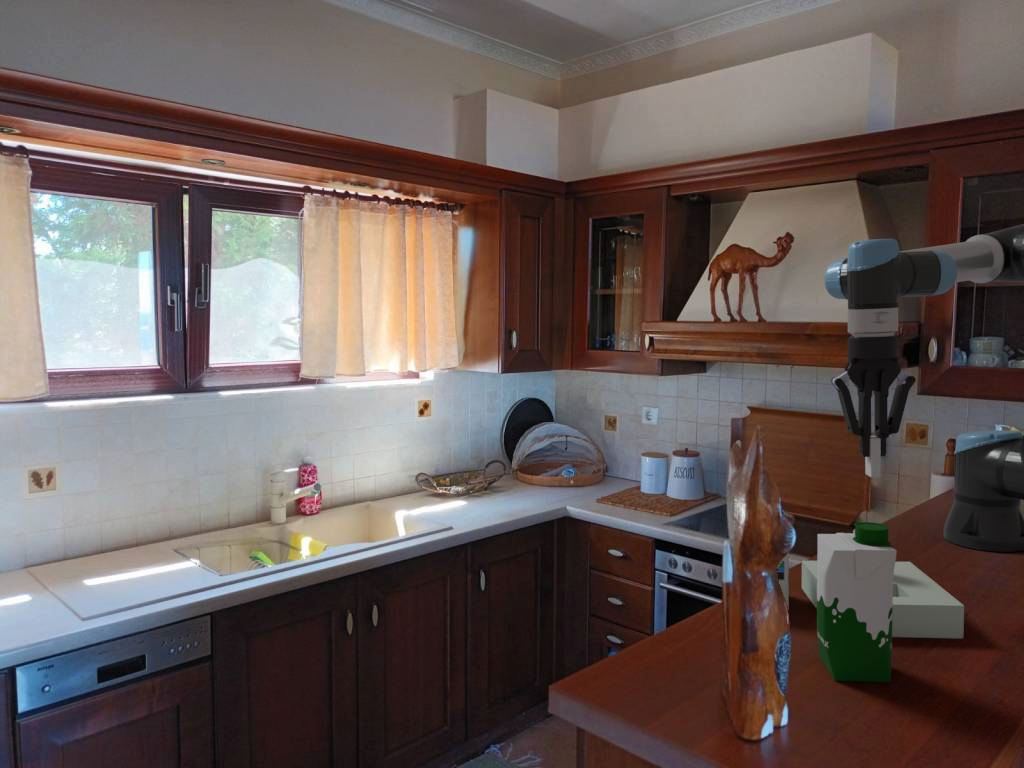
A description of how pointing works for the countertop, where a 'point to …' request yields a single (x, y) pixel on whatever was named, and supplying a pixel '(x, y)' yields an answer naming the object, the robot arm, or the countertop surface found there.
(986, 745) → the countertop surface
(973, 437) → the robot arm
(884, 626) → the milk carton
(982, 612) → the countertop surface
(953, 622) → the board
